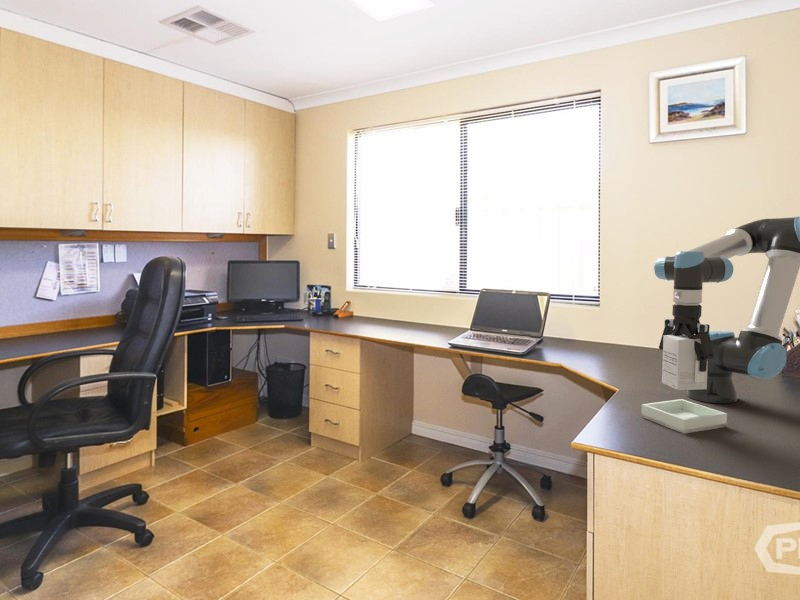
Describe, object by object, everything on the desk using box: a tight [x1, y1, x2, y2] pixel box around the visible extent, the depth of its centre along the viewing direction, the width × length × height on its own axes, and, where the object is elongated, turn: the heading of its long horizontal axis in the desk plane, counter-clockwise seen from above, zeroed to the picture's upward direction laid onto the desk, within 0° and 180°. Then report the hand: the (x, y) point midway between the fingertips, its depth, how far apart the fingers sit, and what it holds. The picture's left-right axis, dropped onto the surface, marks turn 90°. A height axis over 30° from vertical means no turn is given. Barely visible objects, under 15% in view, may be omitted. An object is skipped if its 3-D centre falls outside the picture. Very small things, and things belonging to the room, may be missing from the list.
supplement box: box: [661, 335, 708, 391], centre depth 158 cm, size 9×9×15 cm
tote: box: [640, 398, 728, 434], centre depth 160 cm, size 16×16×4 cm
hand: (683, 377), depth 159 cm, fingers closed on supplement box, 10 cm apart
